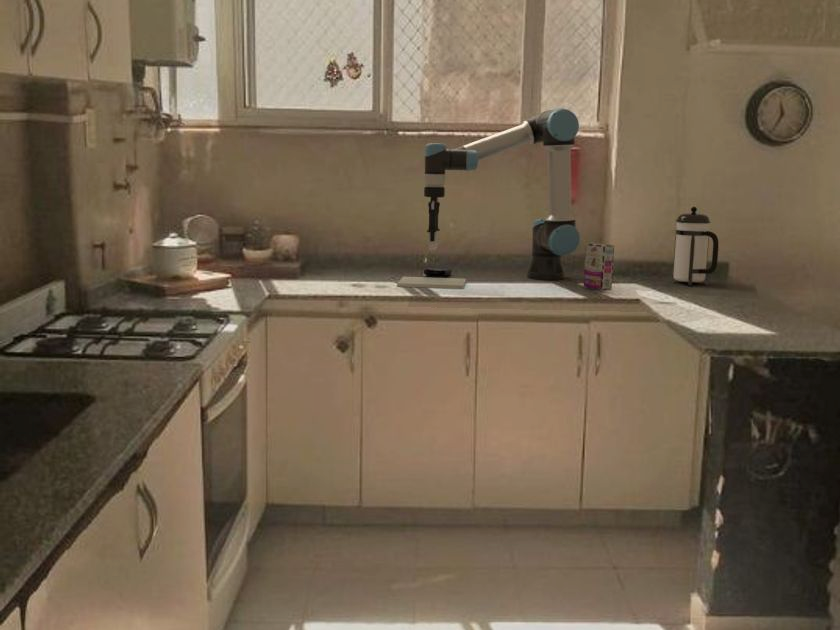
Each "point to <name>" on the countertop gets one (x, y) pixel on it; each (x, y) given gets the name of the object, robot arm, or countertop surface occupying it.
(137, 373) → the countertop surface
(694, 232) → the coffee press
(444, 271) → the flask
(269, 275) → the countertop surface
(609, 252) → the candy bar box
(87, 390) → the countertop surface
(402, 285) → the beige flat panel
